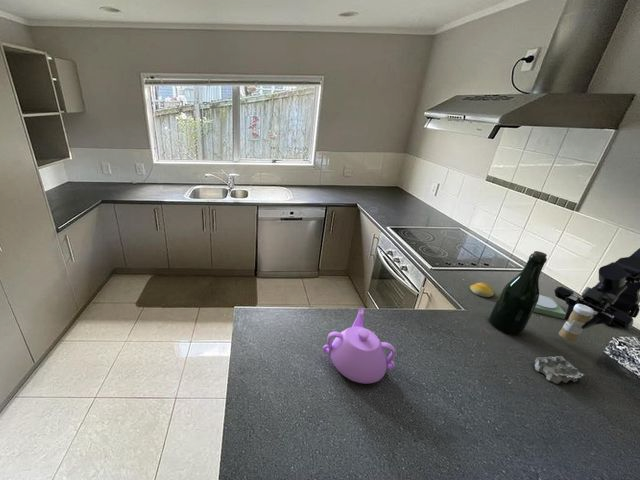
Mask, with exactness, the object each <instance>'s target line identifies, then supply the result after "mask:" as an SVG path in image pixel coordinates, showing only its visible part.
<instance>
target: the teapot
mask: <svg viewBox="0 0 640 480" xmlns="http://www.w3.org/2000/svg"><path fill="white" fill-rule="evenodd" d="M364 316H365V310H364V307H363V306H359V308H358V311H357V315H356V318H355V320H354V322H353V323H352V326H350V327H347V328H346V329H344V330H342V331H341V332H339V331H331V332H329V333H328V335H327V337H326V338H327V344H324V345H323V347H322V351H323V353H325V354H326V355H330V356H329V357H330V360H331V362H332V365H333V366H334V367H335V369H336V370H337V371H338V372H339V373H340V374H341V375H342V376H344V377H345V378H347V379H348V380H350V381H352V382H355V383H358V384H375V383H377V382H379V381H380V380H382V379H383V378H384V376H385V375H386V372H387V370H390V371H391V370H394V369H395V368H396V364H395V361H393V360H394V358H395V357H396V354H397V353H396V352H397V351H396V348H395V346H394V345H392V344H391V343H390V342H386V341H384V342H383V341H381V340H380V339H379V337H378V336H377V334H375V333H374V332H373V331H372V330H370V329H368V328H366V327H365V324H364V323H365V322H364V321H365V320H364ZM332 338H334V339H333V341H332ZM385 349H388V350H389V351H391V352H390V354H389V355H388V356H387V355H386V351H385Z"/></svg>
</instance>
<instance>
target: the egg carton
mask: <svg viewBox="0 0 640 480" xmlns="http://www.w3.org/2000/svg"><path fill="white" fill-rule="evenodd" d="M534 362H535V364H534V367H535V371H536V372H537V373H542V374H543V375H544V376H546V377H545V379H546V380H547V381H549V382H552V383H554V384H556V385H557V384H560V383H562V382H563V383H564V384H565V383H568V382H569V381H571V382H573V383H576V382H578V379H580V378H583V376H584V373H581V372H580V371H579V369H578V368H577V367H575V365H573V364H572V363H571V362H570V361H567V359H566V358H565V357H563V355H559V356H558V355H557V356H544V357H543V356H542V357H541V356H537V357H535V359H534Z"/></svg>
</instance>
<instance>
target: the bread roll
mask: <svg viewBox="0 0 640 480" xmlns="http://www.w3.org/2000/svg"><path fill="white" fill-rule="evenodd" d="M469 289H470V291H471V292H472V293H474V294H475V295H477V296H479V297H482V298H483V297H484V298H490V297H492V296H494V295H495V290H494V288H493V287H492V286H491V285H489V284H488V283H485V282H476V283H474V284H471V285H470V286H469Z"/></svg>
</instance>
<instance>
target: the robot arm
mask: <svg viewBox="0 0 640 480" xmlns="http://www.w3.org/2000/svg"><path fill="white" fill-rule="evenodd" d="M554 296H555V297H556V298H557V299H559V300H562V301H564V302H565V303H566V305H567V310H566V312H565V313H566V316H565V318H564V321H567V319H568V317H569V316H570V314H571V313H572V311H573V308H574V306H575V305H576V304H582V305H585V306H588V307H590V308H592V309H593V310H594V312H597V313H596V314H593V315H592V317H591V318H590V319H589V320H588V322H587V323H585V324H584V325H583V326H582V329H583V330H585V329H587V328H591V327H594V326H598V325H603V324H604V325H606V326H607V327H613V328H620V329H621V328H622V329H623V330H627V331H628V330H629V329H631V328H632V326H633V325H634V319H636V318H637V316H638V315H639V313H640V247H639V248H638V249H636V250H635V251H634V252H633V253H632V254H631V255H629V256H625V257H619V258H618V259H617V260H616V261H612V262H609V263H608V264H605V265H603V266H600V267H599V268H598V282H597V283H596V284H595V285H594V286H592V287H589V286H586V288H585V289H584V290H583V291H582V292H581V297H579V296H577V295H575V294H574V291H573V290H572V289H569V288H566V287H565V286H563V285H562V286H557V287H556V288H555V289H554Z"/></svg>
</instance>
